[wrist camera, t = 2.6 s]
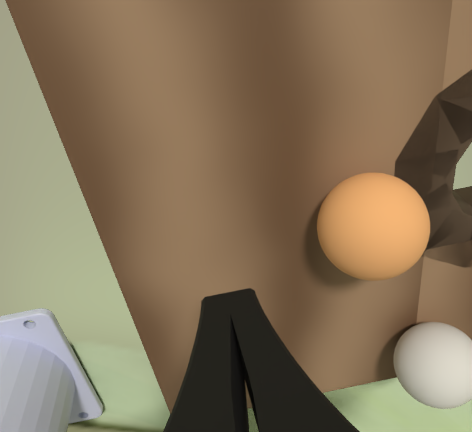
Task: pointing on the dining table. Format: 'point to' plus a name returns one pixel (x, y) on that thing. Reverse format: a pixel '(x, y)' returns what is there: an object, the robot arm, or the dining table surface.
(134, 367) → the dining table surface
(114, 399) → the dining table surface
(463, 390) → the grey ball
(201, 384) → the robot arm
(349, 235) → the orange ball
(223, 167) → the board
